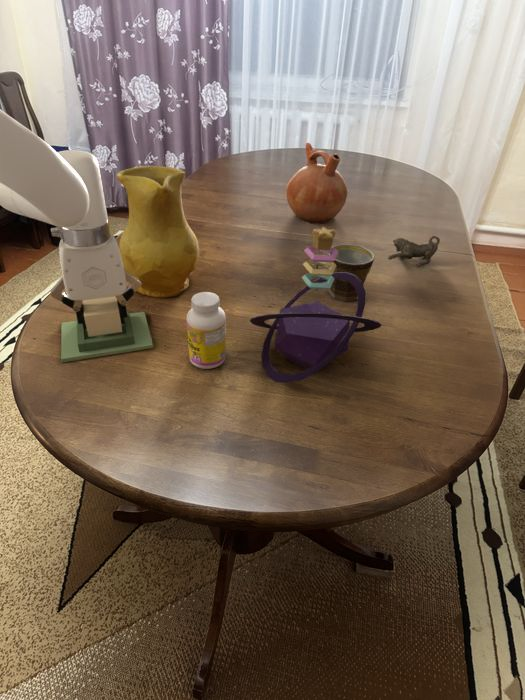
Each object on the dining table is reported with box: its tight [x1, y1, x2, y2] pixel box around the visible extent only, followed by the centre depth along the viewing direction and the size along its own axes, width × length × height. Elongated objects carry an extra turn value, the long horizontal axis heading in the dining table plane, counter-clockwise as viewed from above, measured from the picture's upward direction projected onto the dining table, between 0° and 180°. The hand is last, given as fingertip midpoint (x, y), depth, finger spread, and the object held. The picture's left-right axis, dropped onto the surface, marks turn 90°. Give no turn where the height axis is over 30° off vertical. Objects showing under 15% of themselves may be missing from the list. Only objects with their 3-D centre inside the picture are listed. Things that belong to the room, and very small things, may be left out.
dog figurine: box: [387, 235, 441, 268], centre depth 119 cm, size 12×6×7 cm, turn 82°
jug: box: [286, 142, 348, 224], centre depth 138 cm, size 18×18×20 cm
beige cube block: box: [82, 296, 122, 337], centre depth 87 cm, size 6×6×4 cm
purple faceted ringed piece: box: [249, 226, 382, 384], centre depth 79 cm, size 22×21×25 cm
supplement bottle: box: [186, 291, 227, 370], centre depth 81 cm, size 7×7×13 cm
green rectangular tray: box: [60, 308, 154, 363], centre depth 89 cm, size 16×12×3 cm
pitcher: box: [116, 165, 200, 298], centre depth 100 cm, size 17×19×25 cm
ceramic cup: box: [315, 243, 375, 302], centre depth 103 cm, size 13×10×10 cm
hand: (104, 322), depth 87 cm, fingers closed on beige cube block, 6 cm apart
